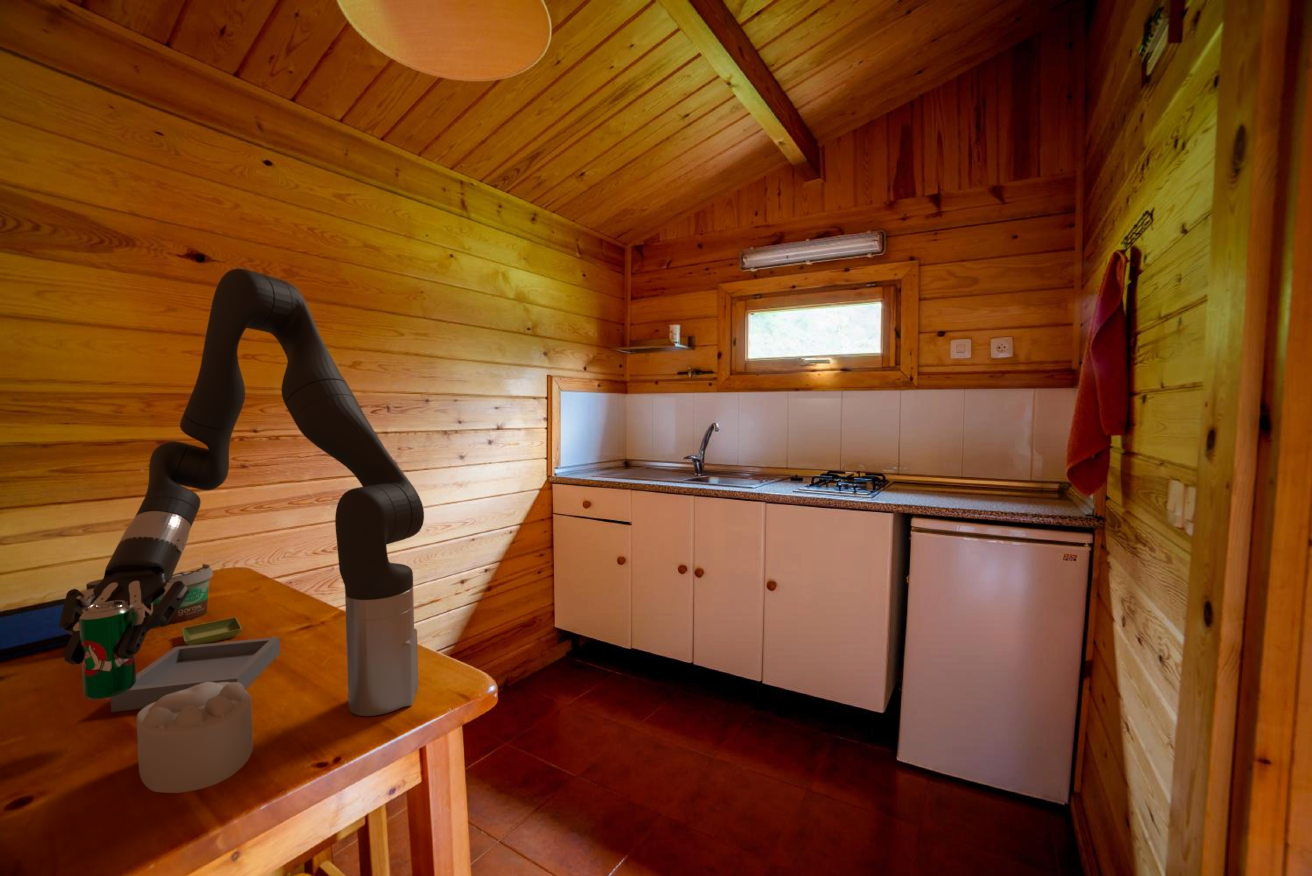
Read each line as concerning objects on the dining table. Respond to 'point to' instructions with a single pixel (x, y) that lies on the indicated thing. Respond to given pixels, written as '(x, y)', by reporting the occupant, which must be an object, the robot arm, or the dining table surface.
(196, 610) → the food container
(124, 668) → the soda can
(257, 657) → the tray
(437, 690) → the dining table surface
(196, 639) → the green square dish
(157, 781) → the lumpy-topped squat cylinder
